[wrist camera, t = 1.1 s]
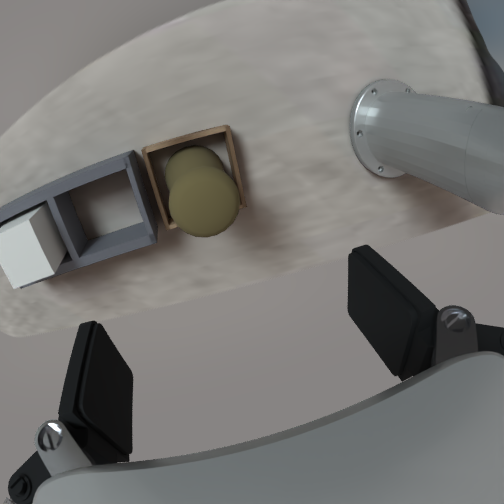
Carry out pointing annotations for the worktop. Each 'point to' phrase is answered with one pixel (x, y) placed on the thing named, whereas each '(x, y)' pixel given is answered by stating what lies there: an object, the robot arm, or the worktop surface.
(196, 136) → the wooden square frame
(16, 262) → the white block
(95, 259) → the grey divided tray
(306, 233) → the worktop surface
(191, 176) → the cork
